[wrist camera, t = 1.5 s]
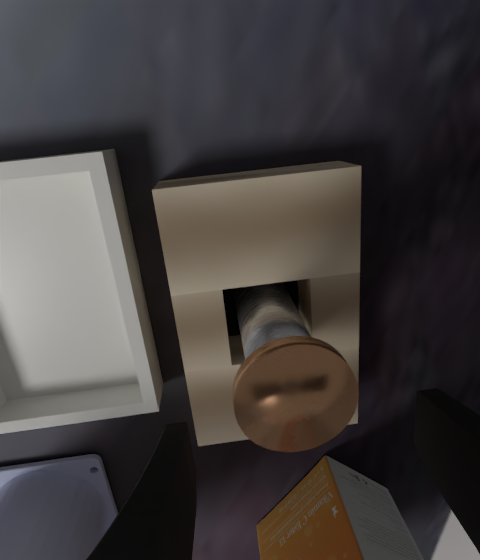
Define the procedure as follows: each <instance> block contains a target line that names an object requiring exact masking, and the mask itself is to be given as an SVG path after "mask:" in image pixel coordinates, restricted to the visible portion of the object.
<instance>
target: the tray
mask: <svg viewBox="0 0 480 560" xmlns="http://www.w3.org/2000/svg"><path fill="white" fill-rule="evenodd" d="M162 389H163V379H162V375H161V370H160V365H159V360H158V355H157V350H156V346H155V341H154V336H153V331H152V326H151V321H150V317H149V312H148V307H147V302H146V297H145V293H144V288H143V283H142V278H141V273H140V268H139V264H138V259H137V254H136V249H135V244H134V239H133V235H132V230H131V225H130V220H129V215H128V210H127V206H126V201H125V196H124V191H123V186H122V181H121V177H120V172H119V167H118V162H117V157H116V153H115V149H107V150H98V151H89V152H80V153H71V154H61V155H52V156H43V157H34V158H25V159H15V160H6V161H0V434H3V433H10V432H17V431H24V430H31V429H38V428H46V427H53V426H60V425H67V424H74V423H81V422H88V421H95V420H103V419H110V418H117V417H124V416H131V415H138V414H145V413H152V412H159V408H160V402H161V395H162Z"/></svg>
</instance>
